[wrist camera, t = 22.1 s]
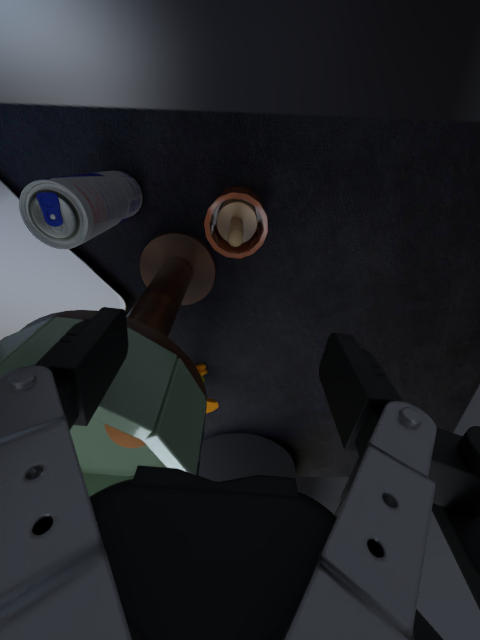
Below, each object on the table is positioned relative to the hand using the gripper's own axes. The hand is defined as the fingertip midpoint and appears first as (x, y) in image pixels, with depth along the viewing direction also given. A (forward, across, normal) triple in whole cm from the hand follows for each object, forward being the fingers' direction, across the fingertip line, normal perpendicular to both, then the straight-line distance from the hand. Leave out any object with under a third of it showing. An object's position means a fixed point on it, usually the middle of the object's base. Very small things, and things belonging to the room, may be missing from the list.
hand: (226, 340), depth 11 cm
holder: (+28, 0, 0) cm, 28 cm away
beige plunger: (+28, 0, 0) cm, 28 cm away
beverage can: (+28, +14, -1) cm, 32 cm away
